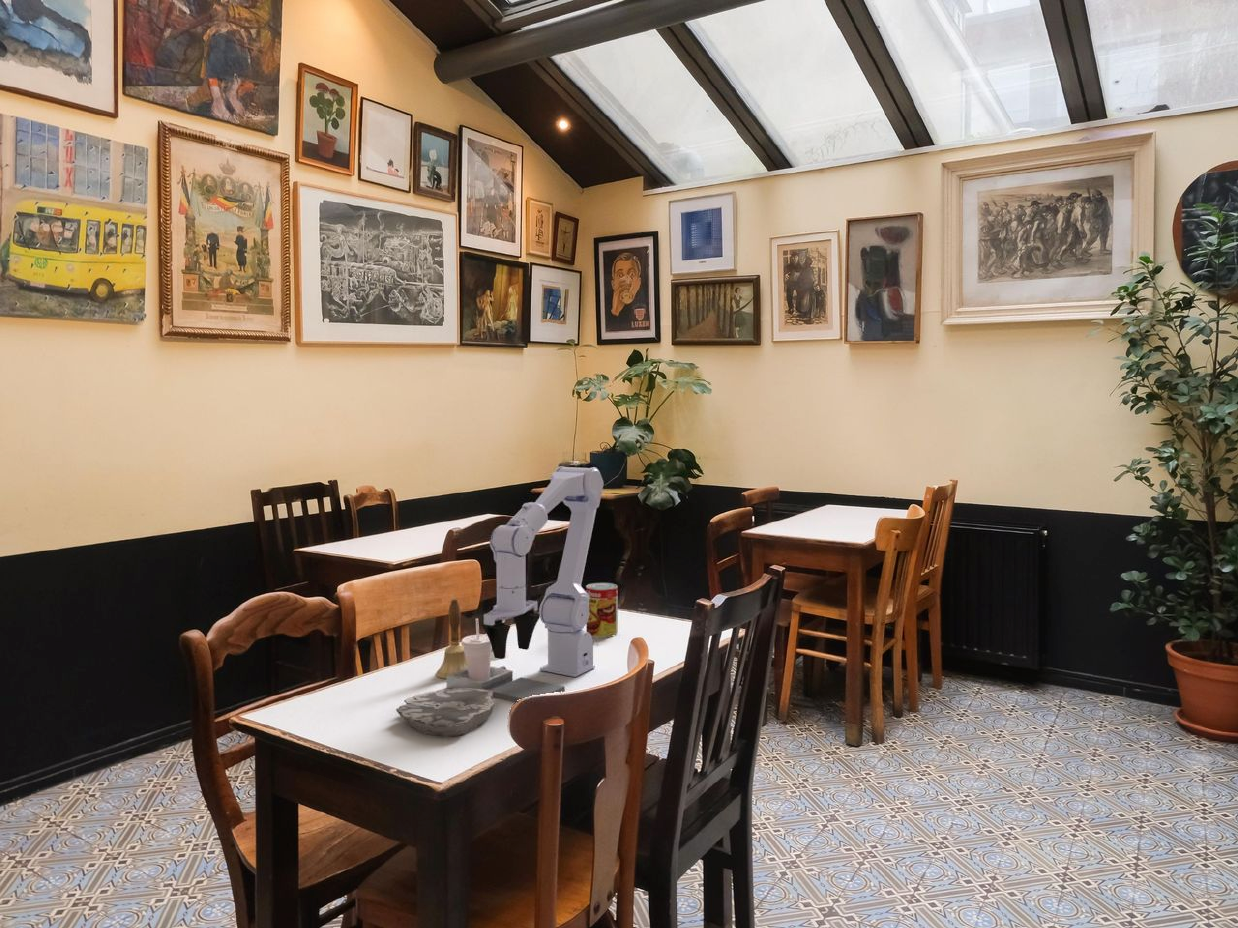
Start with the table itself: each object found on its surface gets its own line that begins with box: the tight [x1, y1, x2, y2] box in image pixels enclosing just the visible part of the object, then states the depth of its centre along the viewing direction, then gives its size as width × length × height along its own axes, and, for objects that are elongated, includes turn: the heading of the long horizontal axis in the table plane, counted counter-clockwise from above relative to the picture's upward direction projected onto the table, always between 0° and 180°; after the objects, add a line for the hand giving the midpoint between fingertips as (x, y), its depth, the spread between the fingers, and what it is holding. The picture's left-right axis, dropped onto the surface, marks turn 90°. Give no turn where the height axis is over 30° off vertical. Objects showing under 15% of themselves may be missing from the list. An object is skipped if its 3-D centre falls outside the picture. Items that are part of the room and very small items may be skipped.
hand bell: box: [435, 598, 467, 680], centre depth 185 cm, size 8×8×16 cm
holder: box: [445, 665, 514, 691], centre depth 179 cm, size 10×12×2 cm
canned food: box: [585, 582, 619, 638], centre depth 218 cm, size 8×8×12 cm
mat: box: [491, 677, 566, 703], centre depth 173 cm, size 11×10×1 cm
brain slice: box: [395, 688, 495, 738], centre depth 159 cm, size 20×17×3 cm
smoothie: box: [461, 618, 492, 681], centre depth 177 cm, size 6×6×14 cm
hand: (511, 653), depth 173 cm, fingers open, 7 cm apart
